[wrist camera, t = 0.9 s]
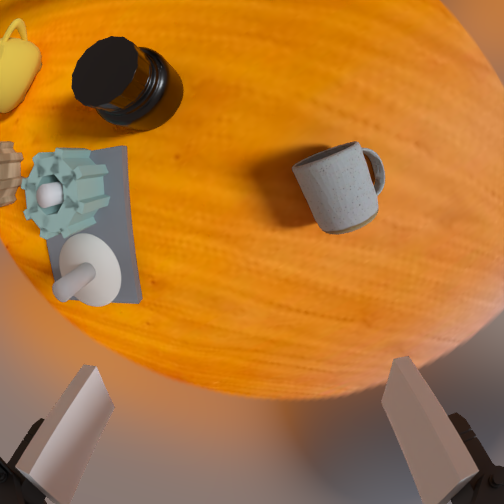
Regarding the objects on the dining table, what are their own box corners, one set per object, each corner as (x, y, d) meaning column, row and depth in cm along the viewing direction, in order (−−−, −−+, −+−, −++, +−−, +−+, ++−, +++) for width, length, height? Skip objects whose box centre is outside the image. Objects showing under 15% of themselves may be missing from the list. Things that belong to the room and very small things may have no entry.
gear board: (44, 158, 31) (4, 162, 23) (126, 142, 31) (91, 137, 23) (65, 298, 38) (34, 324, 29) (143, 303, 37) (119, 336, 29)
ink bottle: (156, 49, 28) (116, 9, 16) (202, 89, 29) (175, 54, 18) (102, 105, 30) (46, 88, 18) (144, 148, 31) (93, 143, 20)
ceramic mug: (315, 229, 34) (332, 247, 27) (286, 166, 32) (296, 166, 25) (389, 194, 33) (420, 202, 25) (364, 132, 31) (392, 125, 23)
